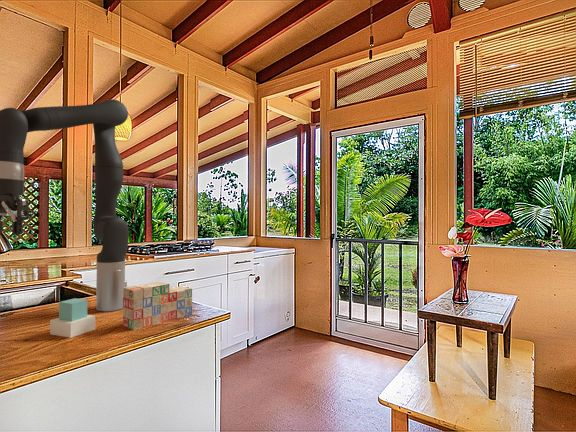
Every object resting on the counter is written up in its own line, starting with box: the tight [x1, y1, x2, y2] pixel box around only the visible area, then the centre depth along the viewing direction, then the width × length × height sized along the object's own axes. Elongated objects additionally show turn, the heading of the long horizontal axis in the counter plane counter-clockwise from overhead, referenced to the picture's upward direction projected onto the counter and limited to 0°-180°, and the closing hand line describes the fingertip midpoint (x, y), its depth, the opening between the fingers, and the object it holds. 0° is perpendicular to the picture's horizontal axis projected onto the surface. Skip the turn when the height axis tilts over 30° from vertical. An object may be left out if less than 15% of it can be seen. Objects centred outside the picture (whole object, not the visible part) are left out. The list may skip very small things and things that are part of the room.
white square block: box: [49, 314, 96, 339], centre depth 102 cm, size 8×8×4 cm
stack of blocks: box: [122, 281, 193, 331], centre depth 114 cm, size 21×6×12 cm, turn 143°
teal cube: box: [58, 297, 88, 321], centre depth 102 cm, size 5×5×5 cm
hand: (6, 234), depth 101 cm, fingers open, 8 cm apart
